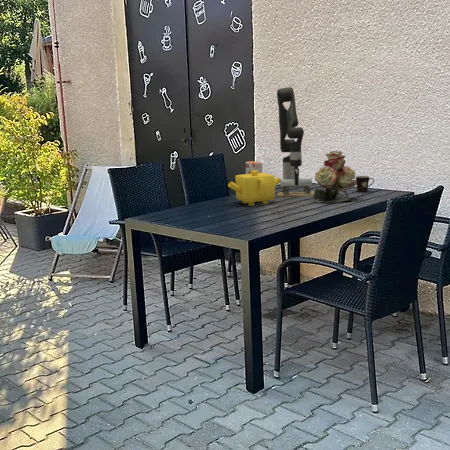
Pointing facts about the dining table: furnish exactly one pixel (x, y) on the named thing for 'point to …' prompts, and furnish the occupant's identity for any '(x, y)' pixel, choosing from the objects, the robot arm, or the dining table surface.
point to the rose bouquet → (334, 179)
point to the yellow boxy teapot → (255, 187)
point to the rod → (292, 182)
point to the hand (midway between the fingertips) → (296, 184)
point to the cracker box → (253, 167)
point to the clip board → (296, 194)
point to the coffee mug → (363, 183)
